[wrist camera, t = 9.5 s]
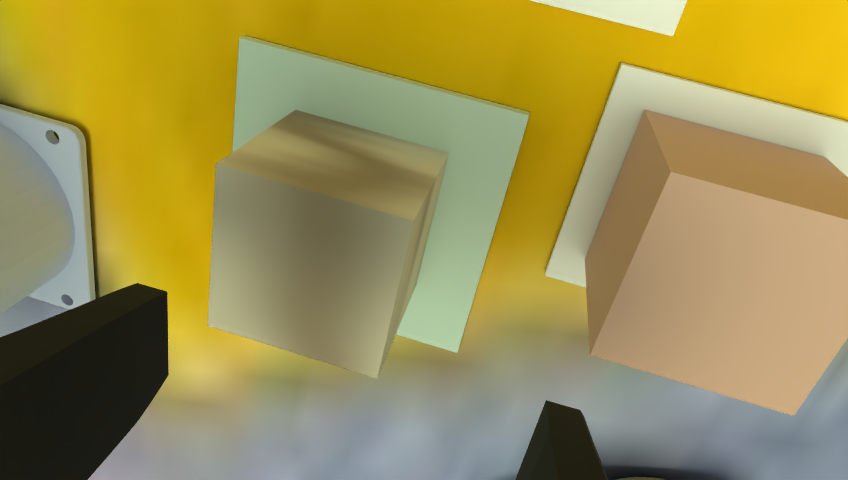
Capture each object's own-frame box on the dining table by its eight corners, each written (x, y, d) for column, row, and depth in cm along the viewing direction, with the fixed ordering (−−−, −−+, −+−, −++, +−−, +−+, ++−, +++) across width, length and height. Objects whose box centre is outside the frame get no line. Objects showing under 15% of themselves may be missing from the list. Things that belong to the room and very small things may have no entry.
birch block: (280, 245, 22) (207, 325, 17) (295, 109, 19) (216, 163, 15) (416, 285, 21) (377, 378, 17) (449, 152, 19) (413, 220, 14)
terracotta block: (584, 259, 20) (589, 354, 15) (644, 109, 17) (670, 171, 13) (741, 304, 19) (793, 415, 15) (825, 157, 17) (916, 238, 12)
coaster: (229, 276, 23) (224, 281, 23) (245, 35, 19) (239, 37, 19) (458, 346, 23) (457, 352, 22) (530, 111, 18) (529, 115, 18)
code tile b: (545, 271, 20) (544, 276, 20) (621, 62, 17) (622, 64, 17) (755, 332, 20) (759, 338, 20) (877, 128, 17) (883, 132, 16)
